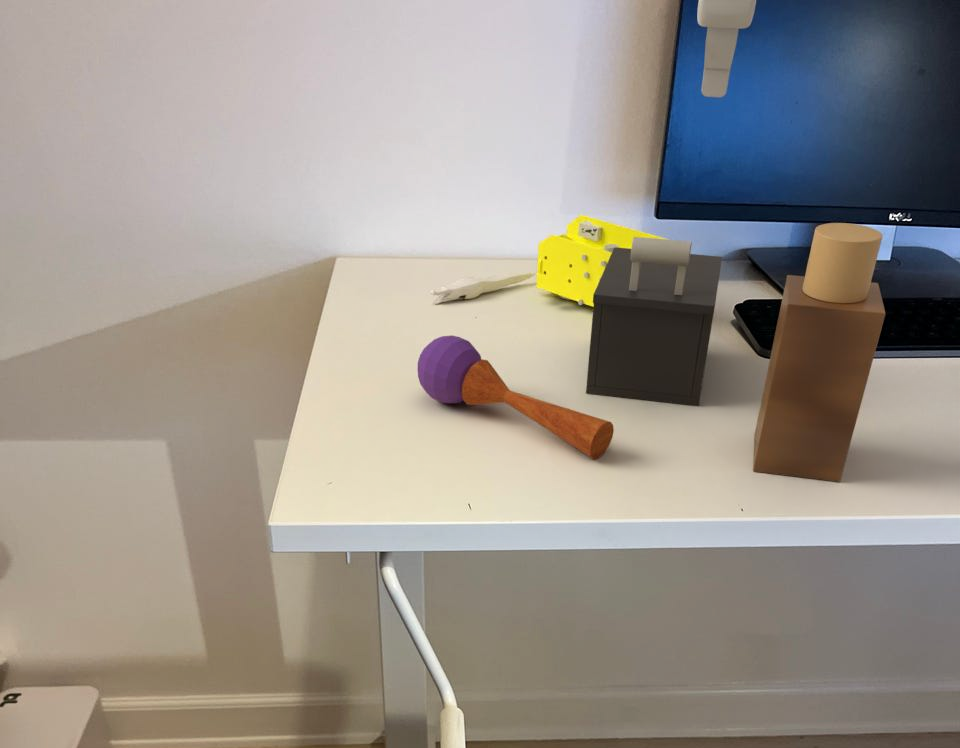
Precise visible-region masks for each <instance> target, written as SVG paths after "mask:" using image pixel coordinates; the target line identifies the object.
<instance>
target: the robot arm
mask: <svg viewBox="0 0 960 748" xmlns="http://www.w3.org/2000/svg"><path fill="white" fill-rule="evenodd" d="M756 5H757V0H698V3H697V19H696V20H697V24H698V25H699V26H701V27H703V28H707V29H706V35H705V36H706V37H705V47H704V62H703V63H704V65H703V74H702V82H701V89H700V91H701V94H702V95H703V96H704V97H705V98H723V97H724V96H725V95H726V94H727V92H728V86H729V80H730V74H731V68H732V64H733V61H734V56H735V51H736V47H737V43H738V36H739V29H740V30H741V29H747V28H749V27H750V26H751V24H752V21H753V20H754V19H753V18H754V15H755V10H756Z"/></svg>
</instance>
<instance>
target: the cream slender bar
mask: <svg viewBox="0 0 960 748" xmlns="http://www.w3.org/2000/svg"><path fill="white" fill-rule="evenodd" d="M535 276H536V273H535V272H524V273H512V274H511V273H510V274H505V275H498V276H489V277H488V276H487V277H463V278H460V279H458V280H456V281H454V282H453V283H451V284H447V285H444V286H441V287H440V288H438V289H431V290H430V292H429V293H430V295H432V296H438V297H436V298H435V299H434V302H433V305H439V304H441V303H442V302H445V301H448V300H449V301H453V300H471V299H475V298H477V297H479V296H480V295H481V294H483V293H489V292H494V291H498V290H500V289H503V288H506V287H508V286H511V285H516V284H519V283H521V282H524V281H526V280H529V279H531V278H534V277H535Z"/></svg>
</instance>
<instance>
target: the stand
mask: <svg viewBox="0 0 960 748" xmlns="http://www.w3.org/2000/svg"><path fill="white" fill-rule="evenodd" d="M804 279H805V275H793V274H787V275H786V279H785V284H784V288H783V293H782V298H781V304H780V309H779V313H778V318H777V323H776V329H775V332H774V338H773V343H772V347H771V352H770V357H769V362H768V367H767V372H766V377H765V381H764V385H763V386H764V387H763V391H762V396H761V401H760V407H759V410H758V416H757V420H756V426H755V430H754V439H753V460H752V461H753V463H752V471H753V472H755V473H764V474H765V473H766V474H773V475H779V476H780V475H781V476H789V477H796V478H803V479H804V478H805V479H813V480H821V481H830V482H838V483H840V482H841V479H842V476H843V472H844V469H845V464H846V461H847V457H848V454H849V450H850V446H851V442H852V438H853V435H854V431H855V428H856V423H857V420H858V417H859V412H860V409H861V406H862V401H863V398H864V395H865V391H866V387H867V385H868V384H867V383H868V381H869V376H870V372H871V369H872V365H873V361H874V357H875V354H876V350H877V348H878V347H877V346H878V343H879V339H880V336H881V332H882V328H883V324H884V320H885V318H886V310H885V305H884V302H883V297H882V294H881V289H880V286H879V283H878V282H873V281H871V284H870V287H869V291H868V295H867V298H866V299H865V300H863V301H860V302H856V303H831V302H825V301H821V300H817V299H815V298H812V297H810V296H808V295H806V294H805V293H804V292H803V289H802V288H803V283H804Z"/></svg>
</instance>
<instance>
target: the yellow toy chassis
mask: <svg viewBox="0 0 960 748" xmlns="http://www.w3.org/2000/svg"><path fill="white" fill-rule="evenodd" d="M634 237H643V238H655V239H666V240H669V238H665V237H662V236H658V235H655V234H652V233H648V232H644V231H641V230H637V229H634V228H631V227H626V226H623V225H619V224H615V223H612V222H608V221H605V220H602V219H598V218H595V217H591V216H587V215H584V214H580V215H578V216H577V217H576V218H575V219H573V220H572V221H571V222H570V223H568V224H567V225H566V234H565V233H563V234H559V235H555V234H550V235H549V236H548V237H546V238H544V239H542V240H541V241H539V243H538V246H537V247H538V248H537V263H536V264H537V267H536V282H535V283H536V284H535V287H536V288H538V289H540V290H542V291H546V292H549V293H552V294H555V295H557V296H558V297H559V298H561V299H563V300H567V301H575V302H577V304H578V305H579V306H583V305H587V306H590V307H593V306H594V303H593V295H594V292H595V290H596V288H597V286H598V283H599V281H600V279H601V276H602V274H603V272H604V270H605V267H606V265H607V263H608V261H609V258H610V256H611V254H612V252H613V249H614V247H616V248H628V249H631V248H632V242H633V238H634Z"/></svg>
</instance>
